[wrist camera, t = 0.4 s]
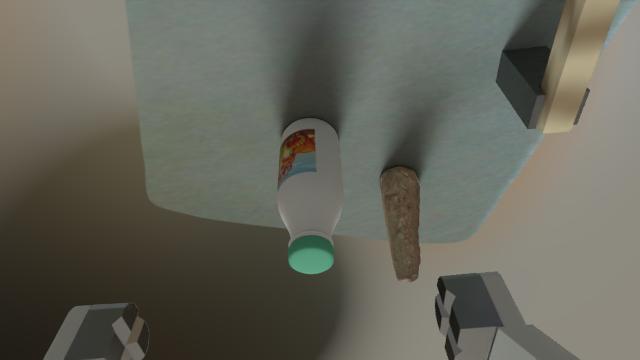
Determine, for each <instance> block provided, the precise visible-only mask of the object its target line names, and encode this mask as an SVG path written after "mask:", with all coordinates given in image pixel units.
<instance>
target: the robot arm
mask: <svg viewBox="0 0 640 360" xmlns="http://www.w3.org/2000/svg"><path fill="white" fill-rule="evenodd" d="M437 287H438V291H439V294H438V295H437V296H436V298H435V313H436V319H437V324H438V327H439V330H440V332H441V333H442V334H443V335H444V336H445V337H446V342H445V350H446V353H447V356H448V359H449V360H580V359H578V358H577V357H576V356H574V355H573V354H572V353H570V352H569V351H567V350H566V349H565V348H563V347H562V346H561V345H559V344H558V343H557V342H555V341H554V340H553V339H551V338H550V337H549V336H547V335H546V334H544V333H543V332H542V331H540V330H539V329H537V328H536V327H535V326H533V325H526V323H525V321H524V319H523V317H522V315H521V313H520V312H519V310H518V308H517V306H516V304H515V302H514V300H513V298H512V296H511V294H510V292H509V290H508V288H507V286H506V284H505V283H504V280H503V278H502V277H501V275H500V274H499V273H498V272H486V273H477V274H476V273H470V274H460V275H450V276H440V277H439V278H438V282H437ZM138 312H139V310H138V308H137V307H136V305H135V303H121V304H104V305H88V306H76V307H74V308H73V309H72V310H71V311H70V312H69V314H68V315H67V317H66V319H65V321H64V323H63V324H62V326H61V328H60V330H59V332H58V333H57V335H56V337H55V339H54V341H53V343H52V345H51V346H50V348H49V350H48V352H47V354H46V356H45V357H44V359H43V360H141V359H142V358H143V357H144V356H145V354H146V351H147V348H148V341H149V331H148V327H147V325H146V323H145V321H144V320H142V319H141V318H139V317H137V314H138Z"/></svg>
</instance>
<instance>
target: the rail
mask: <svg viewBox="0 0 640 360" xmlns="http://www.w3.org/2000/svg"><path fill="white" fill-rule="evenodd" d="M619 2H620V0H566V2H565V5H564V9H563V12H562V16H561V19H560V22H559V26H558V29H557V33H556V36H555V40H554V43H553V46H552V50H551V53H550V57H549V60H548V64H547V67H546V70H545V74H544V77H543V81H542V84H541V90H542V91H543V92H544V93H545V95H546V96H545V99H544V102H543V106H542V109H541V112H540V115H539V119H538V122H537V127H538V128H539V129H540V131H541V132H542V134H545V133H555V132H566V131H571V129H572V126H573V123H574V121H575V118H576V115H577V113H578V110H579V108H580V105H581V102H582V100H583V97H584V94H585V92H586V89H587V86H588V84H589V81H590V78H591V76H592V73H593V70H594V68H595V65H596V63H597V60H598V57H599V55H600V52H601V49H602V47H603V44H604V41H605V39H606V36H607V33H608V31H609V28H610V25H611V23H612V20H613V18H614V15H615V12H616V10H617V7H618V4H619Z"/></svg>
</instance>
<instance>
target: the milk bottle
mask: <svg viewBox="0 0 640 360" xmlns="http://www.w3.org/2000/svg"><path fill="white" fill-rule="evenodd" d="M278 208H279V212H280V215H281V218H282V220H283V222H284V223H285V225H286V227H287V229H288V230H289V233H290V236H291V240H290V241H289V252H288V260H289V264H290V266H291V267H292V268H293V269H295V270H297V271H299V272H301V273H306V274H316V273H320V272H323V271H325V270H327V269H329V268H330V267H331V265H332V264H333V262H334V248H333V241H332V239H331V235H332V232H333V230H334V228H335V226H336V224H337V222H338V220H339V218H340V215H341V212H342V208H343V180H342V169H341V158H340V148H339V140H338V135H337V133H336V131H335V130H334V129H333V127H332V126H330V125H329V124H328V123H326V122H325V121H323V120H320V119H316V118H304V119H300V120H297V121H295V122H293V123H292V124H291V125H289V126H288V127H287V128H286V129H285V131H284V133H283V135H282V138H281V146H280V159H279V174H278Z"/></svg>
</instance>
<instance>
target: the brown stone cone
mask: <svg viewBox="0 0 640 360" xmlns="http://www.w3.org/2000/svg"><path fill="white" fill-rule="evenodd" d="M380 188H381V195H382V202H383V208H384V215H385V221H386V226H387V233H388V238H389V243H390V249H391V255H392V259H393V265H394V268H395V272H396V277H397V279H398V280H399V281H400V282H405V283H408V282H409V283H411V282H413V281H415V280H416V279H417V278H418V270H419V265H420V247H419V242H418V239H419V235H418V227H419V211H420V209H419V204H420V196H419V194H420V186H419V180H418V177H417V175H416V174H415V172H414V170H412V169H408V168H407V167H404V166H396V167H393V168H391V169H387V170H386V171H385V172H384V173H382V175H381V177H380Z"/></svg>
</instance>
